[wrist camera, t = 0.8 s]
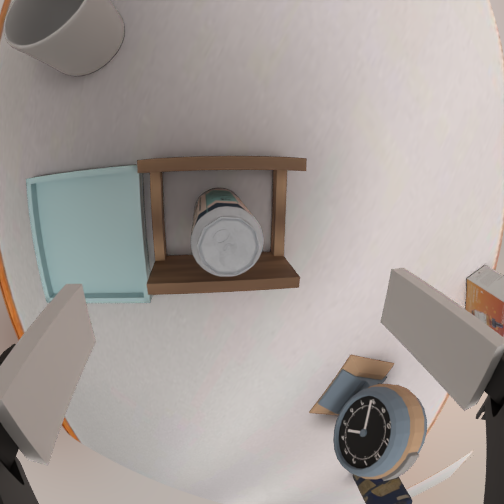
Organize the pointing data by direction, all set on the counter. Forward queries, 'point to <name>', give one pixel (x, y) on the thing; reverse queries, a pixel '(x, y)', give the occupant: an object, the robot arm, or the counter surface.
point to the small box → (487, 297)
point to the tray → (91, 233)
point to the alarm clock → (373, 420)
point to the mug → (65, 32)
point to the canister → (382, 491)
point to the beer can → (225, 234)
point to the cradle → (185, 266)
